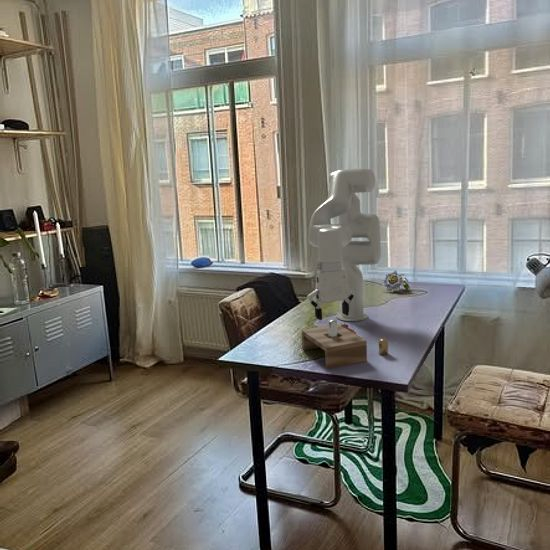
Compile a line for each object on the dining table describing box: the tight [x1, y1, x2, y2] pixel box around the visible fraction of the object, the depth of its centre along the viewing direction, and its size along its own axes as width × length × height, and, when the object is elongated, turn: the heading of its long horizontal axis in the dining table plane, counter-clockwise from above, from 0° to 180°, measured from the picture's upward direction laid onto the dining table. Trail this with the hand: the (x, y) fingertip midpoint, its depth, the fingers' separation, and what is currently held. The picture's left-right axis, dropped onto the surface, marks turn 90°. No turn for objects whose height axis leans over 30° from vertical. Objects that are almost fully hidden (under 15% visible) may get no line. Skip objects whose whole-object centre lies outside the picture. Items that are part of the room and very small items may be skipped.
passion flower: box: [380, 270, 411, 294], centre depth 256 cm, size 11×11×12 cm
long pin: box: [327, 318, 338, 338], centre depth 176 cm, size 3×3×12 cm
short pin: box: [378, 337, 389, 356], centre depth 175 cm, size 3×3×5 cm
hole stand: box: [301, 323, 368, 370], centre depth 177 cm, size 20×14×7 cm
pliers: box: [337, 321, 357, 335], centre depth 201 cm, size 12×20×3 cm, turn 174°
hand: (332, 316), depth 175 cm, fingers open, 9 cm apart
